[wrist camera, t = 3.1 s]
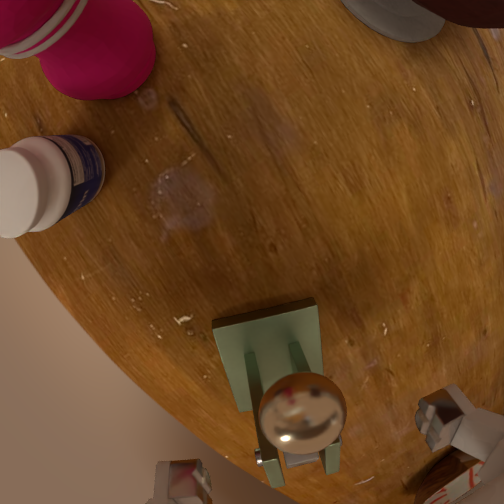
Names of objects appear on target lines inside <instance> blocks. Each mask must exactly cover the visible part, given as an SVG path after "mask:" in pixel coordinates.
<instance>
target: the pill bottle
mask: <svg viewBox="0 0 504 504" xmlns="http://www.w3.org/2000/svg"><path fill="white" fill-rule="evenodd" d="M104 177H105V164H104V159H103V156H102V154H101V152H100V150H99V148H98V147H97V146H96V145H95V144H94V143H93V142H92V141H91V140H90V139H88V138H86V137H84V136H80V135H53V136H34V137H28V138H25V139H22V140H20V141H18V142H16V143H15V144H14V145H12V146H11V147H10V148H6V149H1V150H0V237H2V238H16V237H18V236H21V235H22V234H24V233H26V232H38V231H42V230H45V229H47V228H49V227H51V226H53V225H54V224H56V223H57V222H59V221H60V220H62V219H63V218H65V217H66V216H68V215H70V214H71V213H73V212H75V211H76V210H78V209H79V208H81V207H83V206H84V205H86V204H88V203H89V202H91V201H92V200H93V199H94V198H95V197H96V195H97V194H98V193H99V191H100V189H101V187H102V185H103V181H104Z"/></svg>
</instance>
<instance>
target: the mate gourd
mask: <svg viewBox="0 0 504 504" xmlns="http://www.w3.org/2000/svg"><path fill="white" fill-rule="evenodd" d="M341 1H342V3H343V4H344V5H345V6H346V8H347V9H348V10H349V11H350V12H351V13H352V14H353V15H354V16H355V17H356V18H358V19H359V20H360V21H362V22H363V23H364V24H365V25H367V26H368V27H370V28H371V29H373V30H375V31H376V32H378V33H380V34H382V35H384V36H387V37H389V38H391V39H394V40H398V41H402V42H413V43H415V42H421V41H425V40H428V39H430V38H432V37H434V36H435V35H437V34H438V33H439V32H440V31H441V29H442V27H443V25H444V23H445V19H446V20H448V21H450V22H453V23H455V24H457V25H461V26H466V27H473V28H483V29H485V28H504V0H341Z"/></svg>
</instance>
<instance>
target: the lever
mask: <svg viewBox="0 0 504 504" xmlns="http://www.w3.org/2000/svg"><path fill="white" fill-rule="evenodd" d="M346 417H347V407H346V402H345V398H344V396H343V394H342V392H341V390H340V389H339V388H338V386H337V385H336V384H335V383H334V382H333V381H331V380H330V379H329V378H327V377H325V376H323V375H321V374H317V373H314V372H295V373H291V374H288V375H285V376H283V377H282V378H280V379H278V380H277V381H275V382H274V383H273V384H272V385H271V386H270V387H269V388H268V389H267V391H266V392H265V394H264V395H263V397H262V400H261V402H260V406H259V411H258V418H259V424H260V428H261V430H262V432H263V434H264V436H265V437H266V439H267V440H268V441H269V442H270V443H271V444H272V445H273V446H274V447H276V448H278V449H279V450H281V451H283V454H284V458H285V462H286V466H287V468H292V467H296V466H300V465H304V464H308V463H312V462H315V461H317V459H318V458H319V455H318V452H319V451H321V450H323V449H325V448H326V447H328V446H329V445H331V444H332V443H333V442H334V441H335V440H336V439H337V438H338V436H339V435H340V433H341V432H342V430H343V428H344V425H345V422H346Z"/></svg>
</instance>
